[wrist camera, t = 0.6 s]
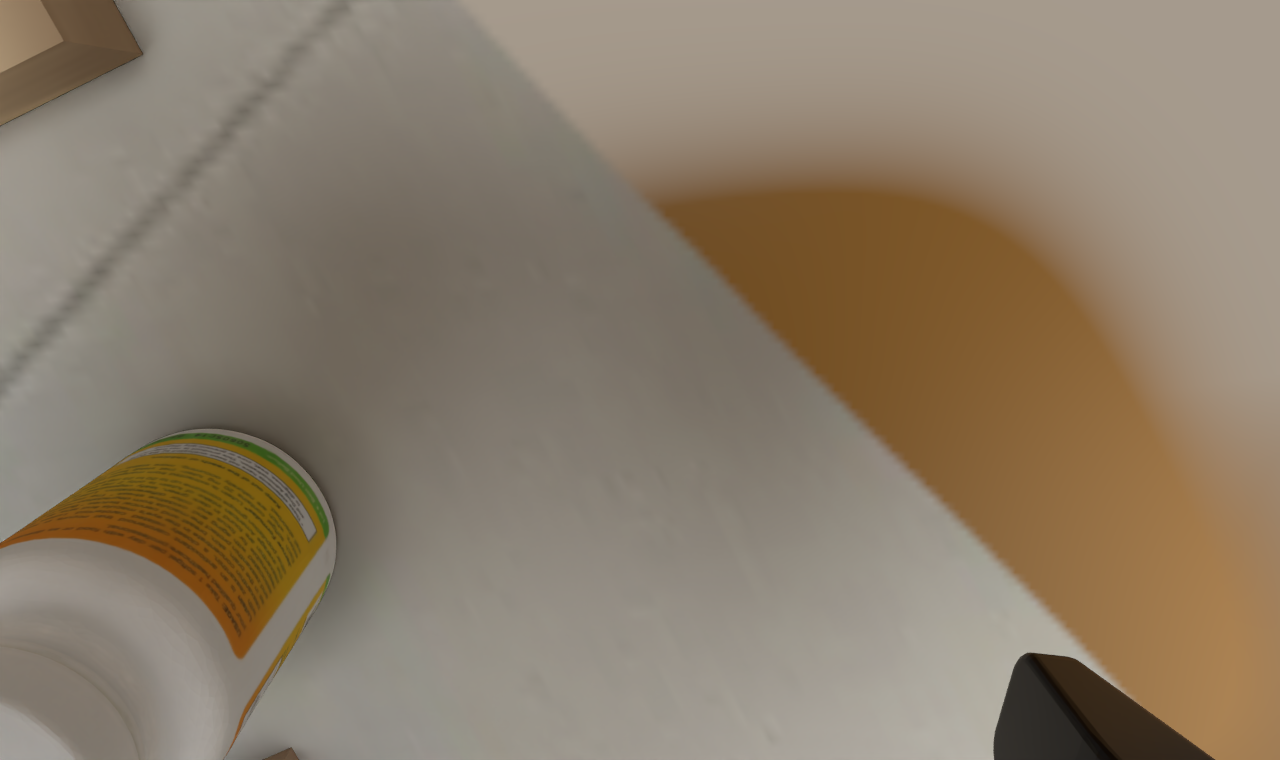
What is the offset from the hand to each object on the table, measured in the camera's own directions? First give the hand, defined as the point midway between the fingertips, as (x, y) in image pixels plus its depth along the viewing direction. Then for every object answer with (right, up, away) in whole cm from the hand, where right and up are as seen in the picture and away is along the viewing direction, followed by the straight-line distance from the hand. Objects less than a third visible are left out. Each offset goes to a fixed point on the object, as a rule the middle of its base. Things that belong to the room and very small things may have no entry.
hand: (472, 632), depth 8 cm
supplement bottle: (-8, -1, +15) cm, 17 cm away
